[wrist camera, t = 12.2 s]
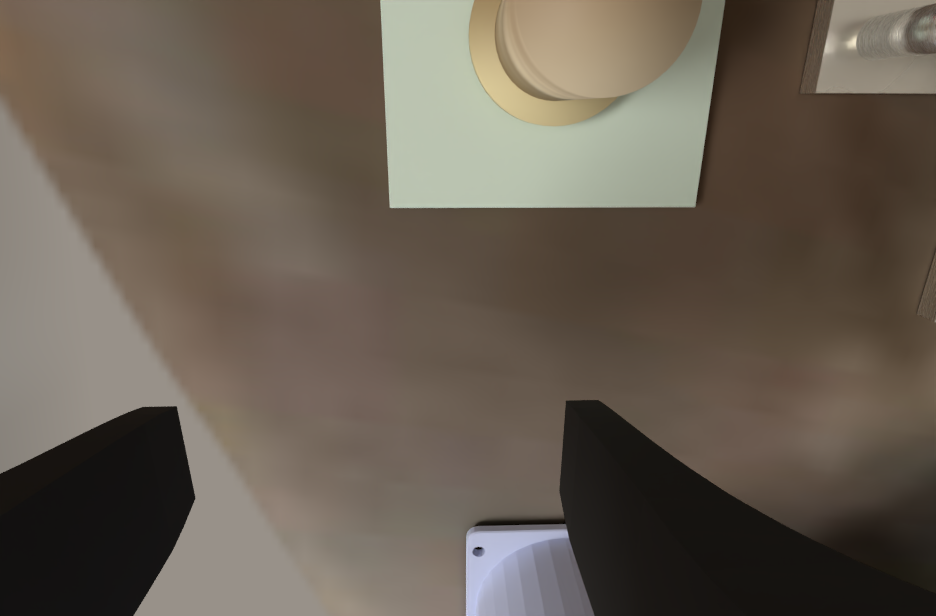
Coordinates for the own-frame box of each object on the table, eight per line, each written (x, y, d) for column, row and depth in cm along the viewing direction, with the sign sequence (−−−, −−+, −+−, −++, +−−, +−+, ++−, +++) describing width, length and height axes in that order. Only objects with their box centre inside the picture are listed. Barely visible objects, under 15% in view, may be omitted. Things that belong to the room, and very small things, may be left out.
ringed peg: (628, 125, 17) (717, 134, 11) (468, 125, 17) (478, 133, 11) (647, -63, 15) (762, -162, 10) (469, -65, 15) (481, -168, 10)
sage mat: (690, 205, 18) (695, 207, 18) (391, 205, 18) (389, 207, 18) (742, -163, 15) (749, -170, 15) (374, -170, 15) (372, -178, 14)
